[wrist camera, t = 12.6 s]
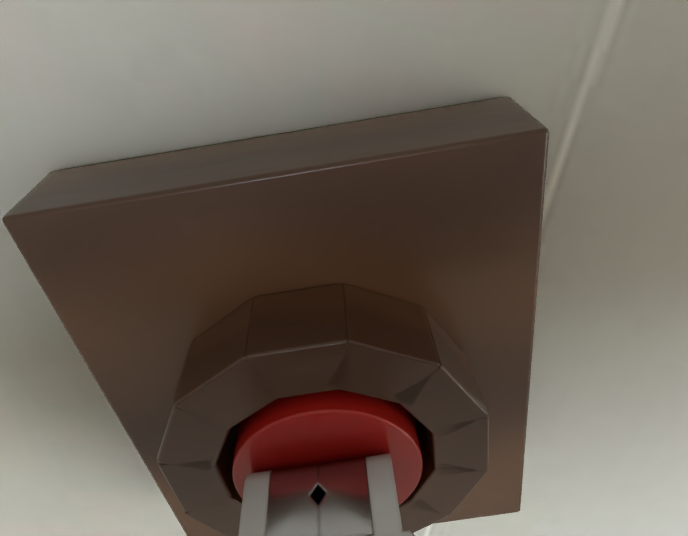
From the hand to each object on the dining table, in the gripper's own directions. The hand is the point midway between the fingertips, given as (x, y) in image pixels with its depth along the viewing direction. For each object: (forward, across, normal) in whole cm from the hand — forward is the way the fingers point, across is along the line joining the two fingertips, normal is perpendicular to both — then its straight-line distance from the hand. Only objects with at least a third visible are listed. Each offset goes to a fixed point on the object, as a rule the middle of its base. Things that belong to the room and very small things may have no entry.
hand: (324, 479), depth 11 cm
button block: (+4, 0, 0) cm, 4 cm away
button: (+2, 0, 0) cm, 2 cm away
